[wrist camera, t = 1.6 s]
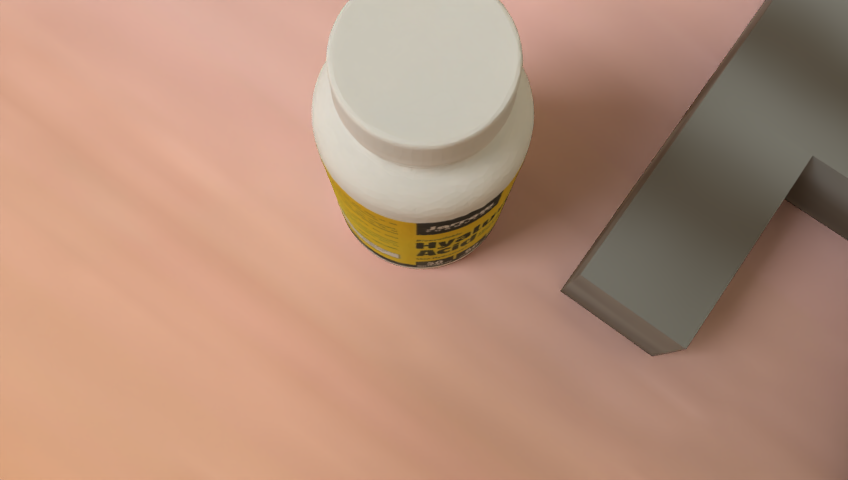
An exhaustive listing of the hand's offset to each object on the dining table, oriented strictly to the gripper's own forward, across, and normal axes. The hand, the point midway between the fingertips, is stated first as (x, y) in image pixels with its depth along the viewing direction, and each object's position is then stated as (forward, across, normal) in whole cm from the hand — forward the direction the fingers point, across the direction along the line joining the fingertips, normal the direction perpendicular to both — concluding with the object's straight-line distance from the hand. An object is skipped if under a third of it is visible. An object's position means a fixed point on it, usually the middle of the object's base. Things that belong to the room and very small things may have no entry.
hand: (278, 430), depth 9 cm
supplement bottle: (+15, 0, +4) cm, 15 cm away
